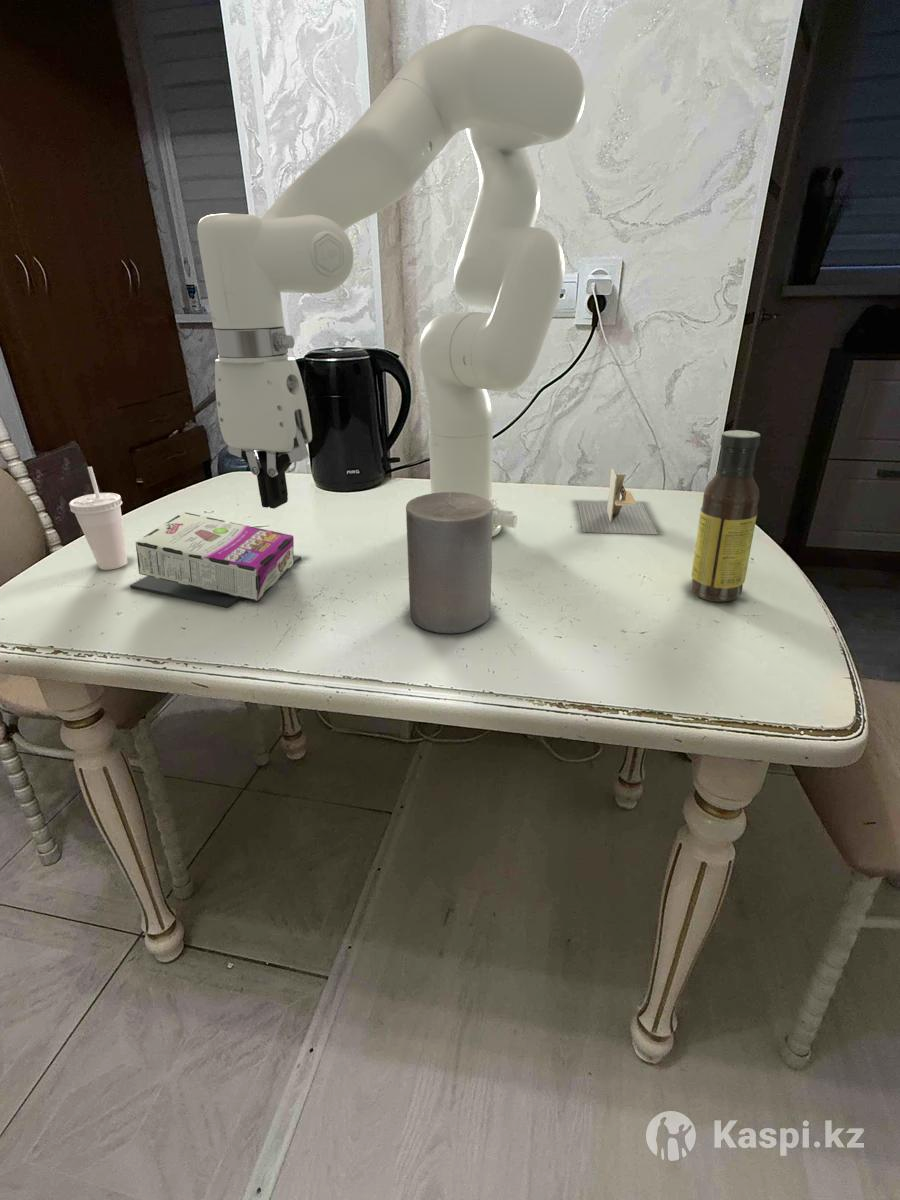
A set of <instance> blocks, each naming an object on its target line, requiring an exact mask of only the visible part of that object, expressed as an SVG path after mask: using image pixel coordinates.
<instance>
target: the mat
mask: <svg viewBox="0 0 900 1200" xmlns="http://www.w3.org/2000/svg"><path fill="white" fill-rule="evenodd" d="M293 558H294V559H293V565H294V564H296V563H297V562H299V561H301V560H302V556H299V555H294V554H293ZM129 587H130V589H135V590H140V591H145V592H149V593H154V594H157V595H158V594H159V595H163V596H168V597H172V598H173V597H174V598H179V599H184V600H189V601H193V602H198V603H204V604H208V605H212V606H218V607H223V608H230V607H231V606H232V605H234V604H235V603H237V602H239V601H240V600H242V599H243V598H242V597H238V596H233V595H229V594H225V593H221V592H216V591H212V590H207V589H203V588H199V587H195V586H191V585H185V584H181V583H176V582H172V581H168V580H163V579H159V578H155V577H150V576H145V577H143V578H141V579H139V580H137V581H136V582H134V583H131V584H129Z"/></svg>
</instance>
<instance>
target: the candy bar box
mask: <svg viewBox="0 0 900 1200" xmlns="http://www.w3.org/2000/svg"><path fill="white" fill-rule="evenodd" d="M294 541H295V540H294V535H293V534H287V533H283V532H278V531H272V530H269V529H264V528H259V527H255V526H249V525H245V524H241V523H236V522H232V521H227V520H223V519H219V518H213V517H209V516H204V515H200V514H195V513H190V512H186V511H182V512H181V513H179V514H178V515H176V516H174V517H173V518H171V519H170V520H168V521H167V522H165V523H163V524H162V525H160V526H159V527H157V528H155V529H154V530H152V531H151V532H149V533H148V534H146V535H145V536H143V537H141V538H139V539H138V540H136V541H135V551H136V559H137V569H138V574H139V575H142V576H145V577H147V576H150V577H155V578H159V579H163V580H168V581H172V582H176V583H181V584H185V585H191V586H195V587H199V588H203V589H207V590H212V591H216V592H221V593H225V594H229V595H233V596H238V597H242V599H246V600H252V601H256V602H258V601H259V600H260V599H261V598H262V597H263V596H264V595H265V594H266V593H267V592H268V591H269V590H270V589H271V588H272V587H273V586H274V585H275V584H276V583H277V582H278V581H279V580H280V579H281V577H282V576H284V575H285V573H287V572H288V570H290V568H292V567H293V565H294V564H293V559H294V558H293V555H294V552H295V551H294V547H295V545H294Z"/></svg>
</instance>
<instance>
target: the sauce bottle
mask: <svg viewBox="0 0 900 1200" xmlns="http://www.w3.org/2000/svg"><path fill="white" fill-rule="evenodd" d="M760 442H761V434H760V433H759V432H757V431H751V430H742V429H741V430H740V429H735V430H726V431H723V432H722V433H721V436H720V442H719V444H720V445H719V446H720V454H719V461H718V466H717V471H716V473H715V475H714V476H713V477H712V479H711V480H709V482H708V483H707V485H706V486H705V489H704V492H703V496H702V505H701V508H700V512H699V519H698V526H697V534H696V539H695V540H696V541H695V545H694V546H695V548H694V554H693V559H692V560H693V561H692V565H691V566H692V568H691V573H690V574H691V575H690V576H691V582H690V589H691V591H692V593H693V594H694V595H695V596H697V597H699V598H701V599H703V600H706V601H709V602H710V601H711V602H729V601H733V600H736V599H737V598H739V597H740V596H741V595H742V593H743V587H744V586H743V585H744V583H745V582H746V576H747V571H748V565H749V560H750V553H751V549H752V545H753V538H754V532H755V527H756V521H757V518H758V506H759V501H760V489H759V488H758V484H757V483H756V481H755V478H754V476H753V475H754V471H755V467H754V465H755V460H756V456H757V450H758V449H759V447H760Z"/></svg>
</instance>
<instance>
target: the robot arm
mask: <svg viewBox="0 0 900 1200" xmlns="http://www.w3.org/2000/svg"><path fill="white" fill-rule="evenodd" d="M585 101H586V87H585V81H584V76H583V73H582V70H581V68H580V66H579V64H578V63H577V61H576V60H575V58H574V57H573V56H572V55H570V53H568V52H567V51H566V50H565V49H563V48H560V47H559V46H556V45H553V44H551V43H547V42H544V41H541V40H538V39H536V38H532V37H529V36H527V35H524V34H520V33H518V32H515V31H511V30H508V29H504V28H501V27H497V26H494V25H487V24H473V25H469V26H466V27H464V28H462V29H459V30H458V31H455V32H453V33H452V32H451V34H448V35H446V36H443V37H441V38H438V39H436V40H434V41H430V42H429V43H427V44H425V45H423V46H421V48H419V49H418V50H417V51H416V52H414V54H413V55H411V57H410V58H408V59H407V61H406V62H405V63H404V65H403V66H402V67H401V68H400V69H399V71H398V72H397V73H396V74H395V75H394V76H393V78H392V79H391V80H390V82H388V84H386V86H385V88H383V90H382V91H381V92H380V93H379V94H378V96H377V97H376V98H375V100H374V101H373V102H372V103H371V104H370V106H369V107H368V108H367V109H366V110H365V112H364V113H363V114H362V115H361V116H360V118H358V120H357V121H356V122H355V124H353V125H352V127H351V128H350V129H349V130H348V131H347V132H345V134H343V135H342V136H341V137H340V138H339V139H337V140H336V141H335V142H333V144H332V145H331V146H330V147H329V148H328V149H327V150H326V151H324V153H323V154H322V155H321V156H320V157H319V158H318V159H316V161H314V162H313V163H312V164H311V165H309V166H308V167H307V168H306V169H305V170H303V172H302V173H301V174H300V175H299V176H297V178H296V179H295V180H293V181H292V182H291V183H290V185H288V187H286V189H285V190H284V191H283V192H282V193H281V194H280V195H279V197H278V198H277V199H276V200H275V201H274V203H273V204H272V205H271V206H270V208H269V209H268V210H267V211H266V212H265V214H264V215H263V216H258V215H253V214H246V213H216V214H209V215H206V216H203V217H201V218H200V220H199V221H198V223H197V228H196V234H197V235H196V236H197V242H198V248H199V254H200V260H201V265H202V271H203V272H202V273H203V278H204V283H205V289H206V294H207V300H208V307H209V311H210V312H209V313H210V317H211V323H212V329H213V335H214V343H215V347H216V353H217V359H215V360H214V363H215V364H214V387H215V388H214V389H215V399H216V401H215V402H216V411H217V418H218V423H219V428H220V429H219V430H220V432H221V436H222V439H223V441H224V443H225V444H226V445H227V451H228V453H229V454H230V455H232V456H236V457H237V458H240V459H243V461H244V462H245V463H246V464H247V465H248V466H249V469H250V471H251V474H253V475H254V476H256V480H257V485H258V492H259V493H258V494H259V497H260V503H261V507H262V508H266V509H267V508H270V509H273V510H275V509H277V508H279V507H280V506H283V505H285V504H286V503H288V500H289V496H288V494H289V493H288V484H287V478H286V472H288V471H289V470H290V466H291V465H292V464H294V463H298V462H302V461H304V460H307V459H308V458H309V456H310V455H309V451H308V447H307V445H308V444H310V443H311V442H312V440H313V429H312V423H311V417H310V416H311V415H310V410H309V405H308V400H307V399H308V398H307V395H306V391H305V387H304V382H303V379H302V375H301V372H300V369H299V366H298V364H297V363H298V362H297V360H296V358H295V357H289V349H293V348H294V347H295V338H294V336H293V335H291V334H290V335H289V334H287V331H286V326H285V319H284V312H283V310H284V309H283V303H282V293H285V294H287V293H288V294H289V293H290V294H291V293H292V294H293V293H294V294H300V293H301V294H326V293H329V292H332V291H334V290H336V289H338V288H339V287H340V286H341V285H343V284H344V283H345V282H346V281H347V279H348V278H349V276H350V275H351V272H352V270H353V265H354V249H353V245H352V242H351V239H350V237H349V236H348V235H347V233H346V232H345V231H346V230H348V229H349V228H351V227H353V226H354V225H355V224H357V223H359V222H360V221H363V220H364V219H366V218H369V217H371V216H373V215H375V214H378V213H379V212H382V211H384V210H386V209H387V208H389V207H390V206H392V205H394V204H395V203H397V202H399V201H400V200H401V199H402V198H404V197H405V196H406V195H407V194H408V193H409V192H410V191H411V190H412V188H413V187H414V186H415V185H416V183H417V182H418V180H419V179H420V178H421V177H422V175H423V174H424V173H425V171H427V169H428V167H430V165H431V164H432V163H433V162H434V160H435V159H437V156H438V155H439V154H440V153H441V152H442V151H443V150H444V148H445V147H446V146H447V144H448V143H449V142H450V140H452V138H453V137H454V136H455V135H457V134H458V133H459V132H461V131H464V130H465V131H466V135H467V137H468V141H469V143H470V146H471V148H472V151H473V154H474V157H475V161H476V165H477V168H478V169H477V170H478V176H479V189H478V194H477V199H476V202H475V205H474V209H473V212H472V215H471V218H470V221H469V224H468V227H467V230H466V232H465V233H466V234H465V236H464V240H463V242H462V246H461V248H460V252H459V255H458V257H457V261H456V264H455V268H454V273H453V275H454V276H453V286H454V289H455V292H456V295H457V296H458V298H459V299H460V300H461V301H462V302H463V303H465V304H467V305H469V306H471V307H474V308H479V309H487V310H492V312H491V313H490V312H480V311H448V312H445V313H440V314H439V315H438V316H436V317H434V318H433V319H432V320H431V321H429V323H427V325H426V327H425V328H424V330H423V332H422V334H421V337H420V342H419V360H420V361H419V362H420V366H421V371H422V375H423V380H424V385H425V391H426V398H427V399H426V401H427V410H428V411H427V413H428V414H427V415H428V444H429V448H428V449H429V475H430V476H429V479H430V481H429V482H430V494H432V493H441V492H462V493H470V494H476V495H479V496H481V497H484V498H486V499H488V500H489V501H490V502H491V503H492V505H493V506H494V508H493V511H492V538H493V537H495V536H497V535H498V534H499V533H500V531H501V529H502V527H506V528H513V529H515V528H516V527H517V524H518V516H517V514H515V511H514V510H508V509H501V508H500V507H498V499H492V496H493V495H492V494H493V493H492V492H493V441H494V439H493V438H494V435H493V434H494V433H493V432H494V414H493V406H492V403H491V402H492V401H491V399H490V396H489V393H488V391H493V392H501V393H503V392H511V391H514V390H517V389H518V388H519V387H521V386H522V385H523V384H524V383H525V382H526V381H527V380H528V378H529V377H530V375H531V374H532V372H533V369H534V368H535V366H536V364H537V360H538V357H539V356H540V353H541V350H542V348H543V345H544V342H545V339H546V337H547V333H548V330H549V328H550V326H551V323H552V320H553V317H554V314H555V311H556V308H557V305H558V303H559V299H560V297H561V294H562V290H563V286H564V280H565V256H564V253H563V248H562V245H561V244H560V241H559V240H558V239H557V238H556V236H555V235H554V234H553V233H552V232H550V231H549V230H546V229H545V228H541V227H535V225H536V222H537V218H538V215H539V212H540V206H541V189H540V185H539V181H538V178H537V176H536V173H535V170H534V167H533V165H532V161H531V159H530V156H529V154H528V150H527V148H528V147H533V146H537V145H538V146H539V145H543V144H547V143H552V142H555V141H559V140H561V139H562V138H565V137H566V136H568V135H569V134H570V133H571V132H572V131H573V130H574V129H575V127H576V126H577V124H578V123H579V121H580V118H581V117H582V114H583V111H584V107H585Z"/></svg>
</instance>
